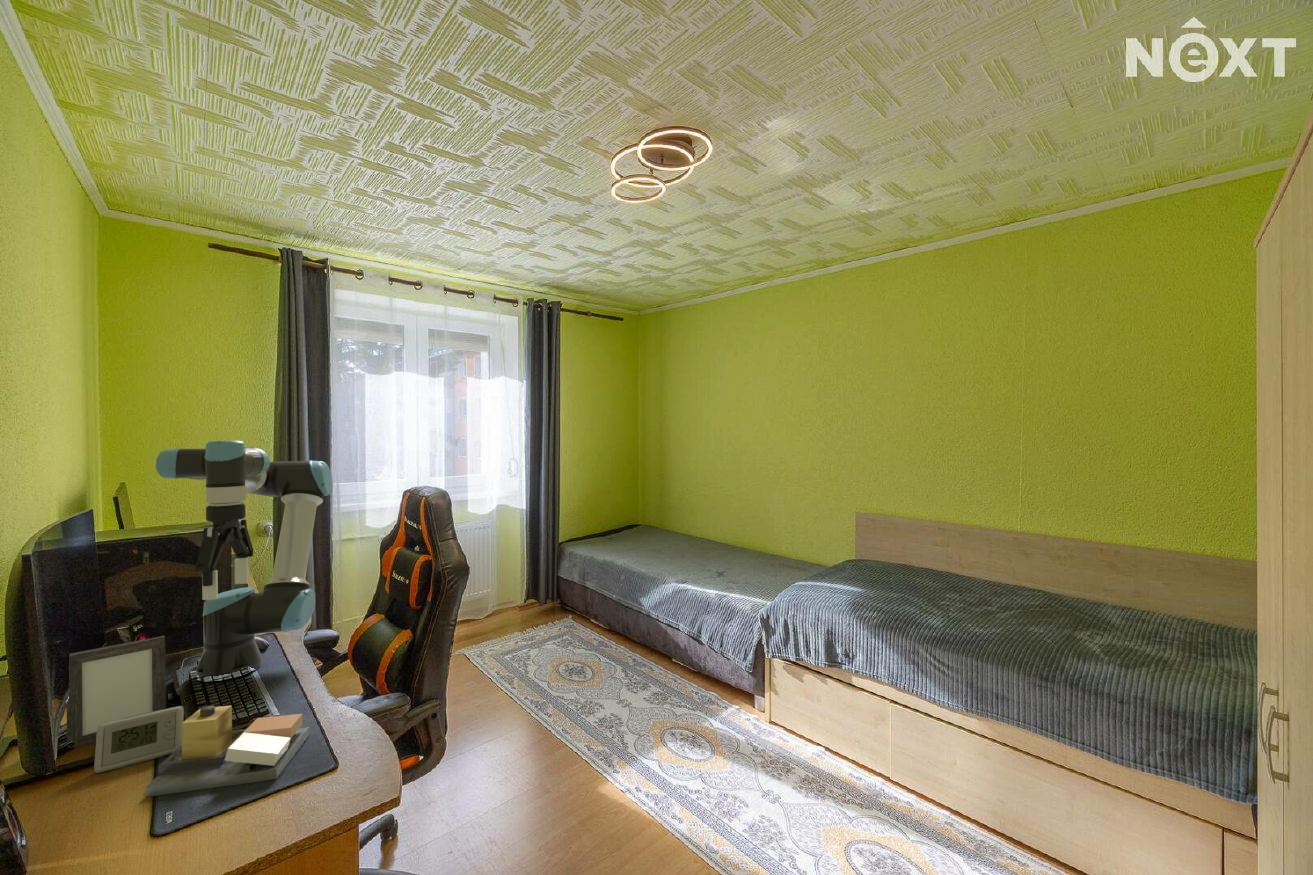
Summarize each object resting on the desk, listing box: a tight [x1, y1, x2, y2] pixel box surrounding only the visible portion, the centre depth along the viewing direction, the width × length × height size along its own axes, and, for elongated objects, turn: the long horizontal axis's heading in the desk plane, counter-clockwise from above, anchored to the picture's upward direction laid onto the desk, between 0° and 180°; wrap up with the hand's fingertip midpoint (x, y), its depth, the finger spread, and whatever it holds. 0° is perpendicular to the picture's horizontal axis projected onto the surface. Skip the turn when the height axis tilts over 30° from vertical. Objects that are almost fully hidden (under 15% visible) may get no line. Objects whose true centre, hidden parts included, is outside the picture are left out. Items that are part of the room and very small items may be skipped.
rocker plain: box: [225, 732, 291, 766], centre depth 109 cm, size 6×9×2 cm, turn 103°
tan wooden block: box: [182, 705, 233, 760], centre depth 113 cm, size 6×6×9 cm
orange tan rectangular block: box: [243, 713, 304, 738], centre depth 117 cm, size 6×9×2 cm, turn 103°
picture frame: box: [66, 635, 167, 748], centre depth 123 cm, size 16×2×21 cm, turn 133°
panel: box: [145, 726, 310, 798], centre depth 112 cm, size 16×22×4 cm
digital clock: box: [93, 705, 185, 774], centre depth 114 cm, size 14×8×9 cm, turn 115°
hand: (226, 591), depth 129 cm, fingers open, 13 cm apart
